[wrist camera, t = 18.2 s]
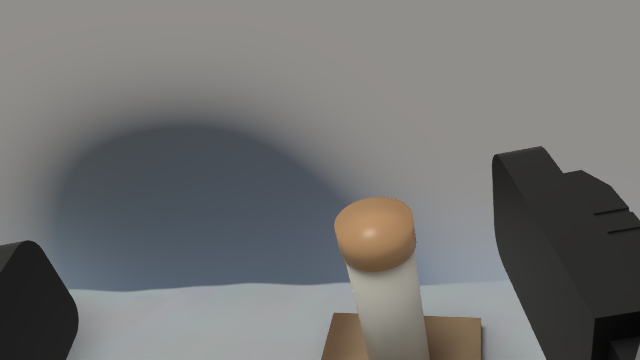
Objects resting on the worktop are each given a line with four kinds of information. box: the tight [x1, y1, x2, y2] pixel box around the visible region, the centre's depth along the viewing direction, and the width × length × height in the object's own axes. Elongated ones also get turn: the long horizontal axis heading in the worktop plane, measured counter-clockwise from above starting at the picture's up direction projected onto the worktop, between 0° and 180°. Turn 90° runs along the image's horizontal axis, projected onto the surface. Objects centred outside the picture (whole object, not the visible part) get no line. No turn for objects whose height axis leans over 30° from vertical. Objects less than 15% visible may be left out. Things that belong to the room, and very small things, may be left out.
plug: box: [334, 197, 430, 360], centre depth 38 cm, size 5×5×14 cm
